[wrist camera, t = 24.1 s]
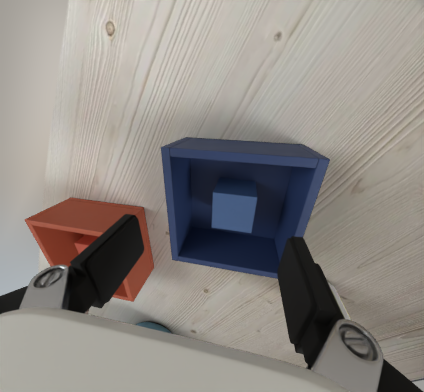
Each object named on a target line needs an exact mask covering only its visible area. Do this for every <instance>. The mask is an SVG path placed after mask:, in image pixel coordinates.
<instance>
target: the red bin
mask: <svg viewBox="0 0 424 392" xmlns="http://www.w3.org/2000/svg"><path fill="white" fill-rule="evenodd" d="M125 214H131V215H135V216H136V217H137V218H138V220H139V225H140V229H141V234H142V239H143V244H144V252H143V254H142V255H141V257H140V258H139V260H138V261H137V262H136V264H135V265H134V267H133V268H132V269H131V271H130V272H129V274H128V275H127V277H126V278H125V279H124V281H123V282H122V284H121V285H120V286H119V288H118V289H117V291H116V292H115V293H114V295H113V296H112V297H114V298H119V299H123V300H128V301H132V302H133V301H134V300H135V298H136V296H137V295H138V293H139V291H140V290H141V288H142V286H143V285H144V283H145V282H146V280H147V278H148V277H149V275H150V273H151V272H152V270H153V268H154V264H153V259H152V253H151V247H150V241H149V235H148V230H147V224H146V218H145V212H144V207H137V206H129V205H122V204H114V203H107V202H99V201H92V200H84V199H77V198H69V199H67V200H65V201H63V202H61V203H59V204H56V205H54V206H52V207H50V208H48V209H46V210H44V211H42V212H40V213H38V214H36V215H34V216H31V217H29V218H27V219H25V222H26V223H27V225H28V227H29V229H30V230H31V232H32V233H33V236H34V237H35V239H36V241H37V243H38V245H39V246H40V248H41V250H42V252H43V254H44V255H45V257H46V259H47V261H48V263H49V264H50V266H55V265H66V266H67V267H69V266H70V265H71V264H70V262H71V261H72V260H73V259H74V258H75V257H76V256H77V255H79V253H78V250H77V248H76V246H75V242H76V241H78V240H79V239H80V238H82V237H83V236H84V235H86V234H87V235H93V236H100V235H102V234H103V233H104V232H105V231H106V230H107V229H108V228H110V227H111V226H112V225H113V224H114V223H115V222H116V221H118V220H119V219H120V218H121V217H122V216H123V215H125Z"/></svg>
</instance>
